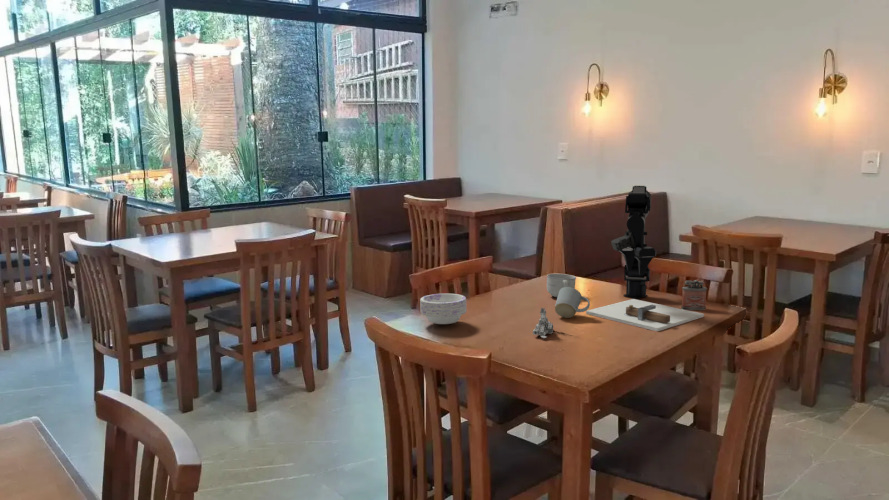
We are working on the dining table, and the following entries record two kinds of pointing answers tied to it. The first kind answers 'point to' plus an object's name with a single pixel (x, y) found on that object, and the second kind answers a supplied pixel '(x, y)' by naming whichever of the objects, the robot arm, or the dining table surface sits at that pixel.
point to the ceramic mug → (569, 302)
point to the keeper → (642, 311)
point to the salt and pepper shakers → (528, 431)
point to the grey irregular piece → (543, 325)
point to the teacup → (559, 283)
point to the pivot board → (619, 314)
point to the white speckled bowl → (443, 307)
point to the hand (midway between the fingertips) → (635, 272)
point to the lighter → (694, 296)
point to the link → (648, 314)
